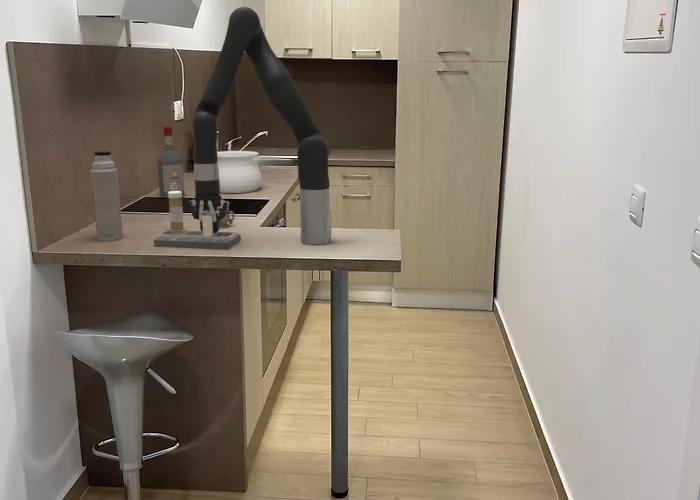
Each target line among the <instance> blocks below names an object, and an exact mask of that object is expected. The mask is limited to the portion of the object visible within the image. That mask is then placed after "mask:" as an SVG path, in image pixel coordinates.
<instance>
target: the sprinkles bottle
mask: <svg viewBox="0 0 700 500" xmlns="http://www.w3.org/2000/svg"><path fill="white" fill-rule="evenodd" d="M168 198H169V199H168V207H169V209H168V213H169V223H170V225H169V226H170V229H169V230H185V228H184V212H183V209H184V208H183V202H182V201H183V200H182V198H183V197H182V192H181V191H170V192H168Z"/></svg>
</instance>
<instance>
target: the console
mask: <svg viewBox="0 0 700 500" xmlns="http://www.w3.org/2000/svg"><path fill="white" fill-rule="evenodd" d="M240 240H241V241H242V236H241V234H240V233H239V231H237V232H236V231H218V235H217V236H203V233H202V231H201V230H188V229H187V230H186V229H184V230H170V229H165V230H163V231H160V232H159V233H157V234H156V238H155V239H153V246H154V247H159V248H184V249H191V248H192V249H209V250H210V249H211V250H212V249H213V250H229V249H231V248H232V247H234V246H235V245H237V244H238V243H240V242H241V241H240Z"/></svg>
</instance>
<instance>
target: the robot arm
mask: <svg viewBox="0 0 700 500" xmlns="http://www.w3.org/2000/svg"><path fill="white" fill-rule="evenodd" d="M227 25H228V26H227V28H226V29H227V31H226V33H225V36H224V37H225V38H224V42H223V44H222V48H221V50H220V52H219V55H218V58H217V61H216V62H215V65H214V67H213V69H212V72H211V74H210V76H209V78H208V80H207V83H206V85H205V87H204V91H203V94H202V97H201V99H200V101H199V102H198V104H197V106H196V108H195V110H194V113H193V115H192V116H191V117H192V118H191V120H190V123H191V124H190V125H191V127H192V128H191V129H193V138H194V139H193V140H194V146H193V161H194V164H193V179H194V181H193V182H194V192H195V194H194V195H195V196H194V198H193V199H190V200H188V201H186V205H187V207H188V209H189V212H190V214H191V216H192V218H193V219H194V220H197V221H199V227H200V228H199V231H202V233H203V224H202V216H203V215H205V214H206V213H207V210H209V211H210V213H211V215H212V219H213V221H214V222H213V233H217V232H220V231H219V230H220V229H219V220H222V219H223V218H224V217H225V215H226V212H227V210H228V208H229V207H230V204H231V203H230V201H229V200H227V201H226V200H224V199H223V198H222V196H221V193H220V181H219V168H218V159H217V152H218V149H217V148H218V147H217V142H218V140H217V139H218V123H217V119H218V117H219V115H220V112H221V110H222V108H223V107H224V106H225V104H226V102H227V100H228V97H229V96H230V92H231V91H232V87H233V85H234V82H235V79H236V76H237V72H238V69H239V66H240V63H241V61H242V58H243V55H244V54H246V55H247V57H248V59H249V61H250V62H251V64H252V66H253V69H254V71H255V72H254V73H255V74H256V75H255V76H256V77H257V79H258V81H259V84H260V85H261V88H262V89H263V91H264V94H265V96H266V97H267V99H268V101H269V102H270V104H271V105H272V107H273V108H274V110H275V111H276V113H278V115H279V116H280V117H281V119H282V120H283V121H284V122H285V123H286V124H287V125H288V127H289V128H290V129H291V131H292V134H294V137H295V139H296V141H297V143H298V147H297V175H298V176H297V177H298V181H299V204H300V205H299V208H300V209H299V210H300V214H299V215H300V217H299V218H300V221H299V222H300V242H301V243H302V244H304V243H305V245H310V244H313V245H314V246H315V245H316V246H317V245H328V244H329V243H330V242H331V241H332V210H331V209H330V204H331V203H330V199H331V198H330V177H329V157H330V154H331V147H330V144H329V141H328V140H327V138H326V137H325V136H324V134H323V133H322V132H321V130H320V129H319V127H318V126H317V124H316V123H315V121H314V119H313V118H312V116H311V114H310V113H309V110H308V107H307V105H306V103H305V101H304V99H303V97H302V95H301V93H300V91H299V89H298V87H297V85H296V83H295V81H294V80H293V78H292V76H291V74H290V72H289V71H288V69H287V68H286V66H285V65H284V63H282V62H281V60H280V59H279V58H278V56H277V55H276V53H275V52H274V51H273V49H272V48H271V45H270V44H269V41H268V39H267V37H266V35H265V33H264V30H263V28H262V25H261V20H260V17H259V14H258V13H257V12H256V11H255V10H254V9H252V8H251V7H248V6H241V7H237V8H236V9H234V10H233V11H232V12H231V14H230V16H229V19H228V24H227ZM196 205H197V206H196ZM219 205H220V207H222V209H221V212H220V214H219V215H218V207H219ZM197 207H199V209H198V208H197ZM228 211H229V210H228ZM313 245H312V246H313Z"/></svg>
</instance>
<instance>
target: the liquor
mask: <svg viewBox="0 0 700 500" xmlns="http://www.w3.org/2000/svg"><path fill="white" fill-rule="evenodd" d="M163 135H164V136H163V137H164V138H163V139H164V149H163V151H162V152H161V153H160V155H159V156H158V157H157V159H156V161H157V175H158V177H157V178H158V188H159V189H158V190H159V196H160V197H161V196H162V197H168V192H170V191H181V192H182V196H184V197H185V181H184V178H185V177H184V166H183V165H184V164H183V158H182V157H181V155H180V154H178V152H177V151H176V150H175V147H174V141H173V140H174V139H173V127H172V126H163ZM162 197H161V198H162Z"/></svg>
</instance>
